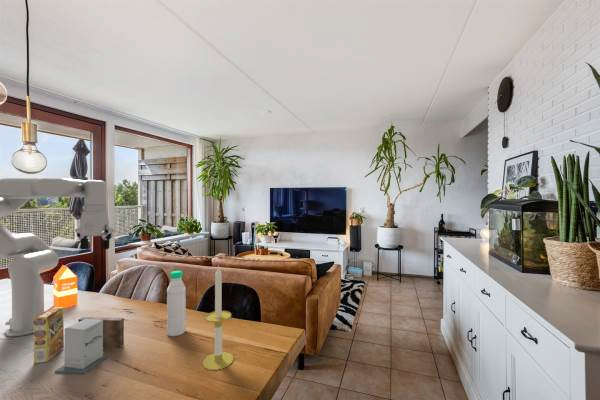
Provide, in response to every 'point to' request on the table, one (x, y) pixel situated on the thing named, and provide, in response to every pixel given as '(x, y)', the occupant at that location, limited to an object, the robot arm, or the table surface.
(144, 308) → the table surface
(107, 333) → the walnut screen
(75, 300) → the orange juice
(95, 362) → the mat
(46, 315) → the candy box
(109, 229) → the robot arm
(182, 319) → the water bottle
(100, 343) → the supplement box
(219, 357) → the candle
